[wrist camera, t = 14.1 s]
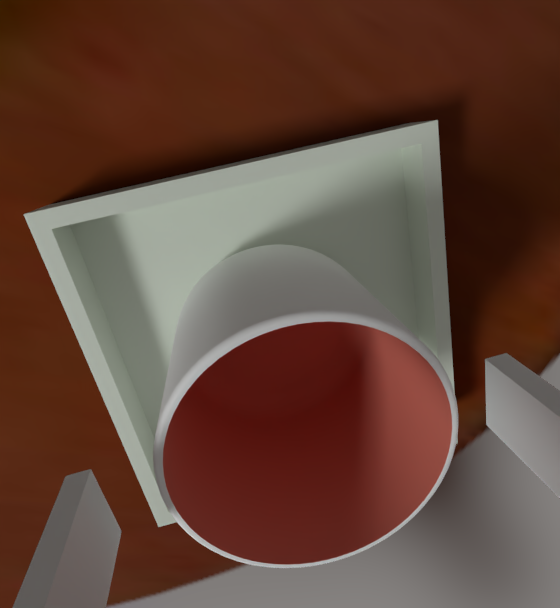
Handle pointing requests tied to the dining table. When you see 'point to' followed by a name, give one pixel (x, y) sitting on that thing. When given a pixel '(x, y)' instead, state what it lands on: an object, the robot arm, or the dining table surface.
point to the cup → (297, 413)
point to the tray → (235, 238)
